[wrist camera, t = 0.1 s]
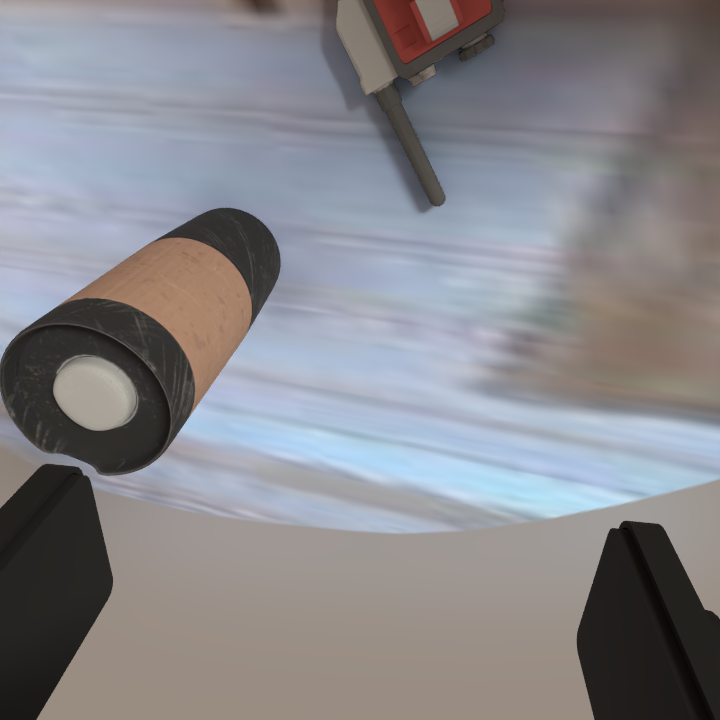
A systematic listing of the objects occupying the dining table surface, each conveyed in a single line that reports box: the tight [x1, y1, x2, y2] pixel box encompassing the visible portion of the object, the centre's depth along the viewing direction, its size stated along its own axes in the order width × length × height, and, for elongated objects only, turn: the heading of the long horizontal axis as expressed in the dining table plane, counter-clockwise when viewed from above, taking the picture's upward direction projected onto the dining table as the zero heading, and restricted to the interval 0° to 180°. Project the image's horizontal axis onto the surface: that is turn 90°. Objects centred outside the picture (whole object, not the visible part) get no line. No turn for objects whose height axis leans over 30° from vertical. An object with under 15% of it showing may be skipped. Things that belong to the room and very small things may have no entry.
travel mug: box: [0, 208, 280, 476], centre depth 32 cm, size 8×8×20 cm
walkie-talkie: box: [336, 0, 505, 206], centre depth 32 cm, size 9×4×20 cm
